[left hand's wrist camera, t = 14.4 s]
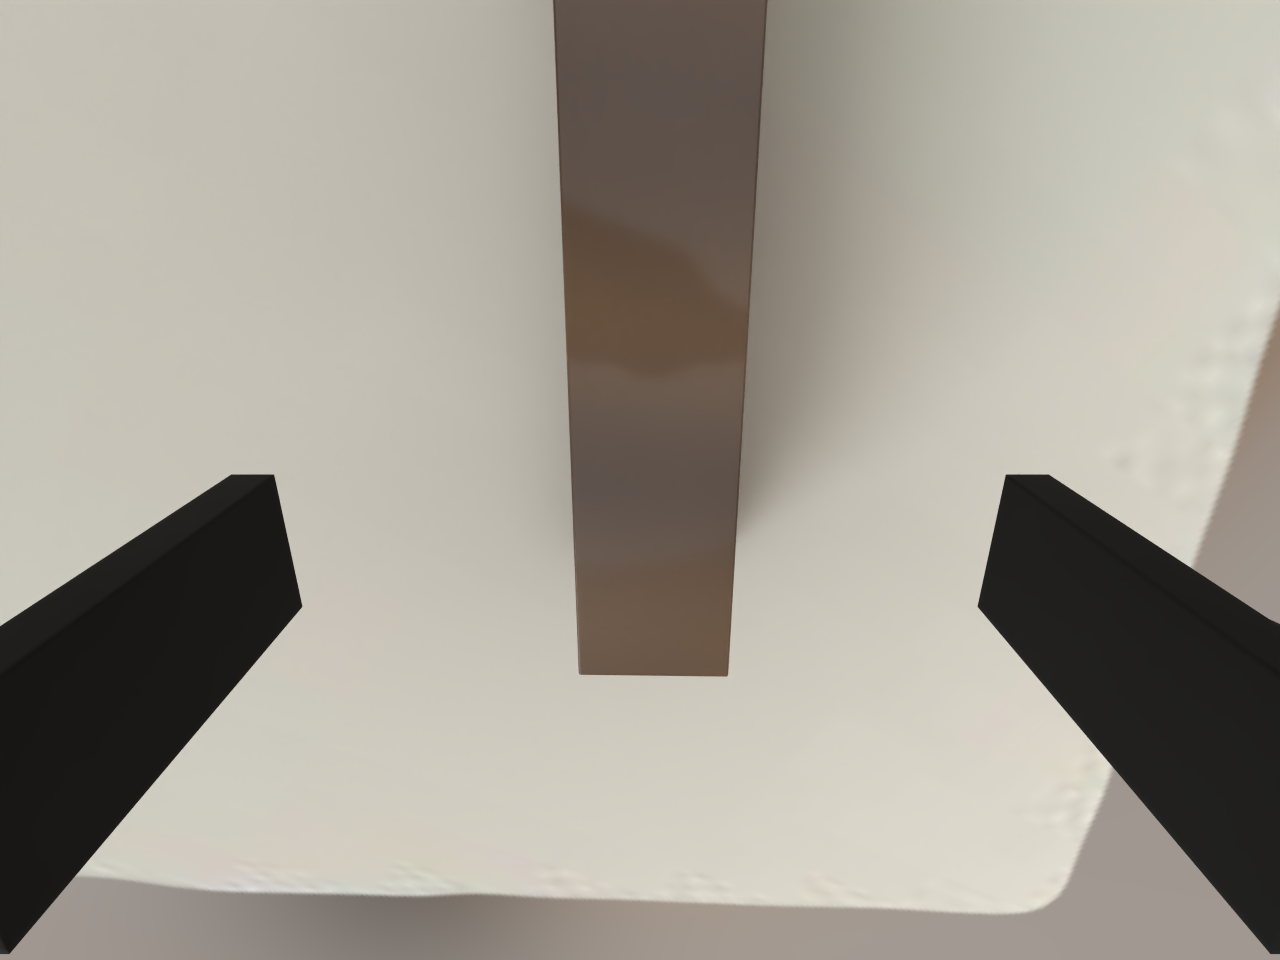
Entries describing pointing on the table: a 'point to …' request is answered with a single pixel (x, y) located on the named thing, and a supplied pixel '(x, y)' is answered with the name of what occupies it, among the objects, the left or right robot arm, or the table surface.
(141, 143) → the table surface
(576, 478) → the beam
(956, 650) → the table surface
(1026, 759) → the table surface
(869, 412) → the table surface
